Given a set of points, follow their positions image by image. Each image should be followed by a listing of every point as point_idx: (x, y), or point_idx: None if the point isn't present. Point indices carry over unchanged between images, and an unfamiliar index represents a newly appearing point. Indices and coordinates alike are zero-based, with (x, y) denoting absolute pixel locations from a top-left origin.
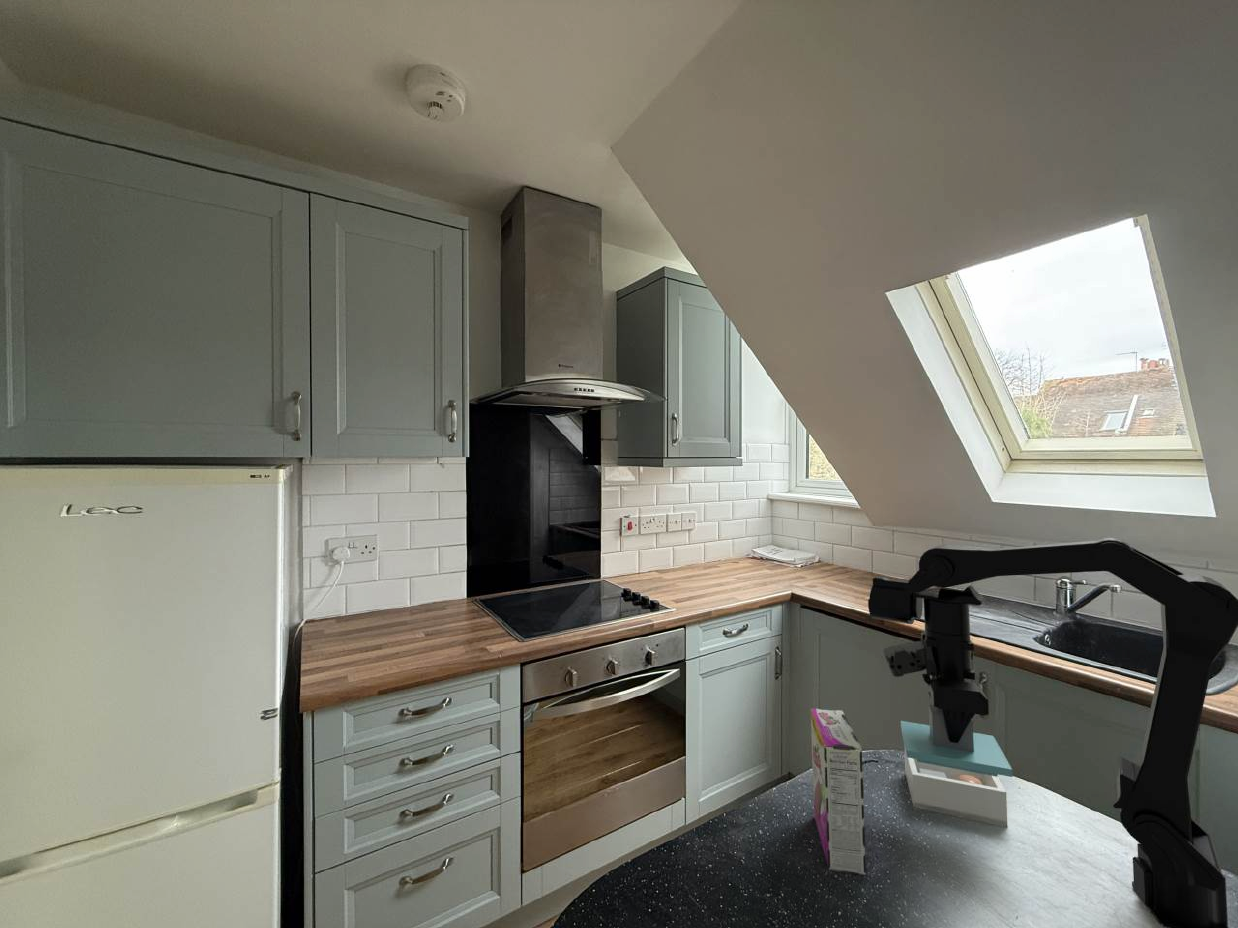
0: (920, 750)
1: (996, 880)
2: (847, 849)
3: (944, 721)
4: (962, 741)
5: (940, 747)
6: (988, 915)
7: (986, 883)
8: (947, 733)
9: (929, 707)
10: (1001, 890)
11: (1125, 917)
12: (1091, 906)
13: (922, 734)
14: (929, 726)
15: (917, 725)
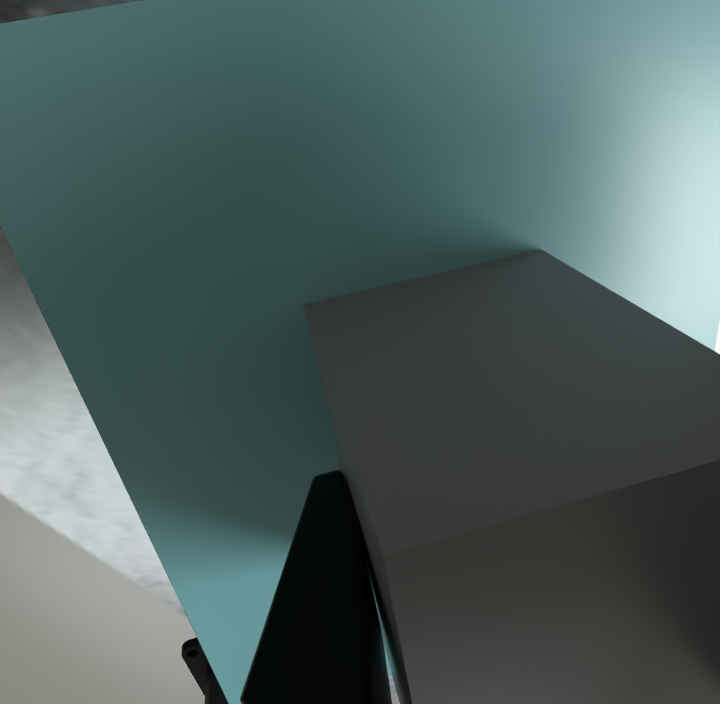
0: (54, 204)
1: (62, 370)
2: None
3: (334, 630)
4: None
5: (289, 363)
6: None
7: (14, 346)
8: (305, 527)
9: None
10: (16, 385)
11: (162, 597)
12: (148, 551)
13: (501, 183)
14: (712, 227)
15: (707, 112)
